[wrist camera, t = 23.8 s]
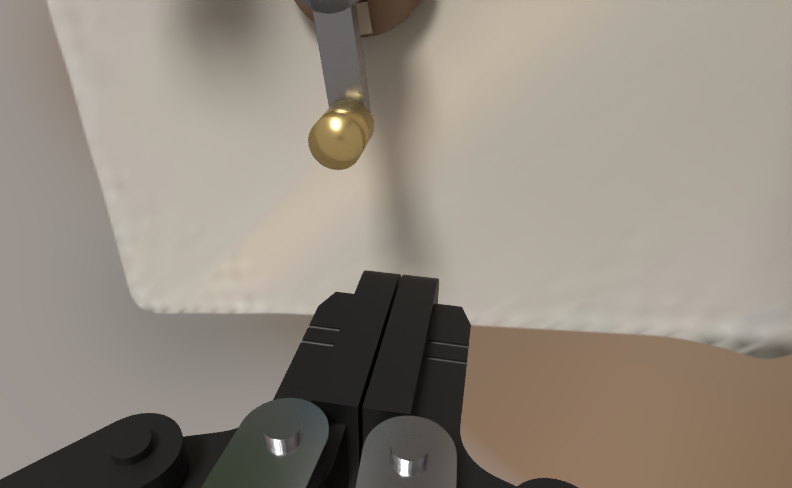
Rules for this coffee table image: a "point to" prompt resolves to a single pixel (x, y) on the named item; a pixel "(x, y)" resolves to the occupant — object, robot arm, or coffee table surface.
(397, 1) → the base
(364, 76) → the crank
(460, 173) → the coffee table surface
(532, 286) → the coffee table surface
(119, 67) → the coffee table surface
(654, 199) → the coffee table surface
